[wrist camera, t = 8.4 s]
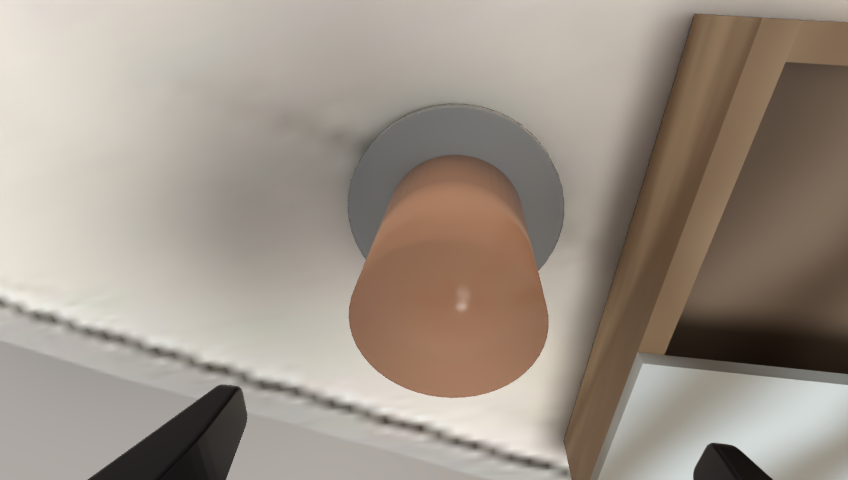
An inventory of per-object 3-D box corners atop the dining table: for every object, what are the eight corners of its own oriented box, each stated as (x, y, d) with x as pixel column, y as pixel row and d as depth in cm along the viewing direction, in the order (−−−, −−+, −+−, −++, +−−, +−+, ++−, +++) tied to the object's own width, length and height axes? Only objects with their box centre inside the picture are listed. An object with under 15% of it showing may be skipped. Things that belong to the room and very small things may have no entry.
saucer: (581, 112, 17) (586, 117, 16) (540, 303, 21) (542, 313, 20) (349, 95, 17) (344, 99, 17) (355, 285, 22) (351, 294, 21)
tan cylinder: (532, 160, 17) (567, 249, 11) (512, 280, 20) (530, 406, 14) (389, 149, 17) (345, 230, 11) (388, 269, 20) (351, 387, 14)
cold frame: (1252, 45, 14) (1570, 64, 10) (870, 483, 25) (947, 576, 21) (694, 13, 15) (776, 18, 11) (562, 446, 26) (578, 529, 22)
